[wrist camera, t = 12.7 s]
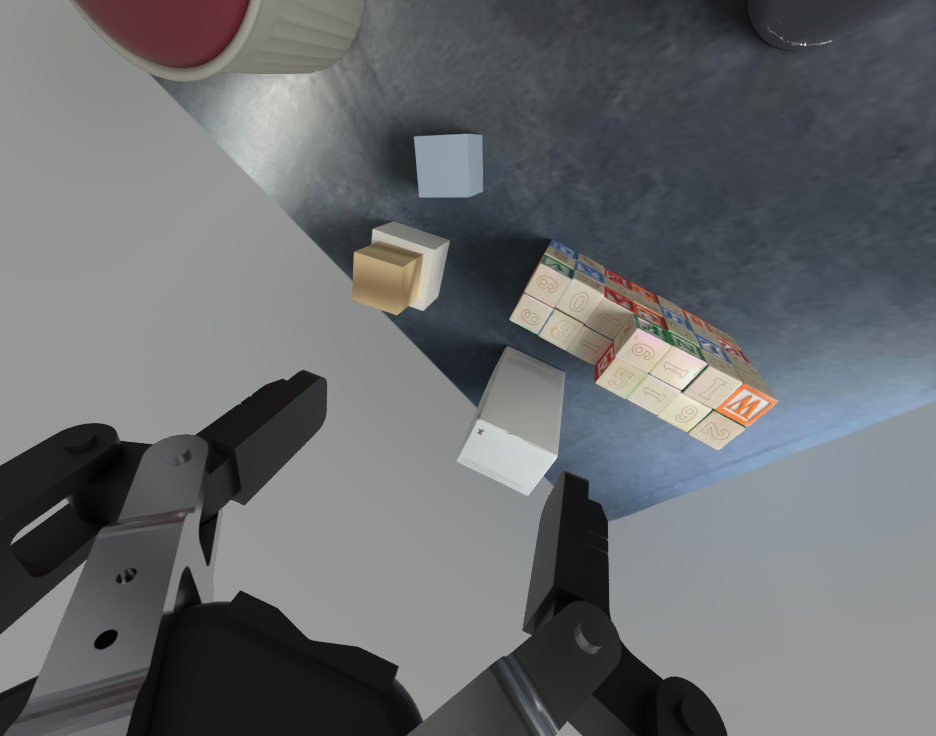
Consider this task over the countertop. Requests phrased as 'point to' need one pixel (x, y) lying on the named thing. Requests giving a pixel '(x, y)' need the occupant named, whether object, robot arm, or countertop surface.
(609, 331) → the stack of blocks
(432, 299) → the base block
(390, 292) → the maple cube
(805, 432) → the countertop surface
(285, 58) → the canister
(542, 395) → the skincare box
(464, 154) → the slate cube
